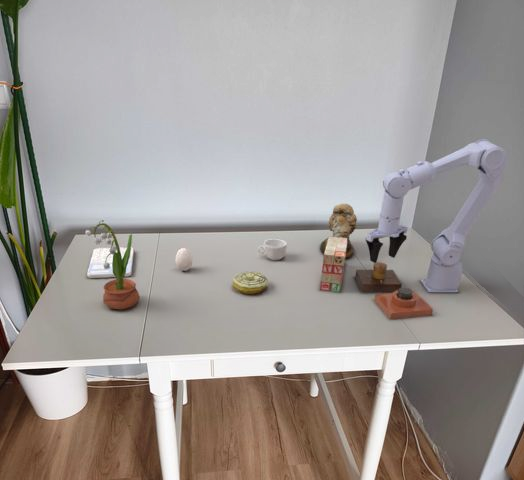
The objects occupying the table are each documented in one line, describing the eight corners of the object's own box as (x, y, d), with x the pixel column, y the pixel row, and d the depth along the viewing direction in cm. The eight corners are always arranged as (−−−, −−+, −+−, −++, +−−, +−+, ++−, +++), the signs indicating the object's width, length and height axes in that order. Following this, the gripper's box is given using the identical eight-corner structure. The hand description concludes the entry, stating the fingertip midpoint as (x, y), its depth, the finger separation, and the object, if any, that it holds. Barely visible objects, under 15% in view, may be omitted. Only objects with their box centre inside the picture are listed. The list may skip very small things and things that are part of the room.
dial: (372, 272, 158) (374, 260, 155) (385, 274, 157) (387, 262, 154) (371, 278, 154) (373, 265, 152) (384, 280, 154) (386, 267, 151)
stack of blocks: (326, 261, 171) (330, 227, 164) (344, 263, 170) (349, 229, 163) (319, 290, 153) (323, 253, 146) (340, 293, 152) (345, 255, 145)
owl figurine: (317, 239, 187) (322, 194, 177) (348, 240, 187) (354, 195, 178) (323, 260, 172) (328, 212, 162) (357, 261, 172) (364, 213, 163)
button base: (413, 296, 152) (416, 285, 149) (431, 315, 143) (434, 303, 141) (373, 300, 149) (376, 288, 147) (389, 319, 140) (392, 307, 138)
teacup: (282, 252, 176) (283, 237, 173) (288, 261, 170) (289, 246, 167) (255, 254, 174) (255, 239, 171) (259, 263, 168) (260, 248, 165)
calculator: (134, 251, 173) (133, 245, 172) (131, 277, 156) (130, 271, 155) (94, 252, 171) (93, 247, 170) (87, 279, 154) (86, 273, 153)
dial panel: (391, 278, 162) (392, 269, 160) (400, 292, 154) (401, 283, 152) (354, 277, 161) (356, 269, 159) (361, 292, 153) (363, 283, 151)
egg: (184, 275, 159) (183, 253, 154) (172, 270, 161) (171, 248, 157) (196, 269, 162) (195, 247, 158) (184, 265, 165) (183, 243, 161)
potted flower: (101, 316, 136) (86, 230, 122) (93, 300, 144) (79, 216, 130) (144, 307, 141) (134, 223, 127) (134, 292, 148) (124, 210, 135)
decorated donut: (274, 289, 153) (275, 278, 151) (248, 299, 147) (248, 288, 145) (252, 276, 159) (253, 266, 157) (226, 286, 153) (226, 275, 151)
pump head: (407, 293, 146) (408, 286, 145) (413, 299, 143) (415, 293, 142) (395, 294, 145) (396, 288, 144) (401, 300, 142) (402, 294, 141)
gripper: (381, 224, 138) (373, 268, 146) (418, 216, 145) (409, 259, 152) (364, 216, 143) (357, 259, 151) (400, 208, 150) (392, 250, 157)
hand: (382, 258), depth 152 cm, fingers open, 7 cm apart
